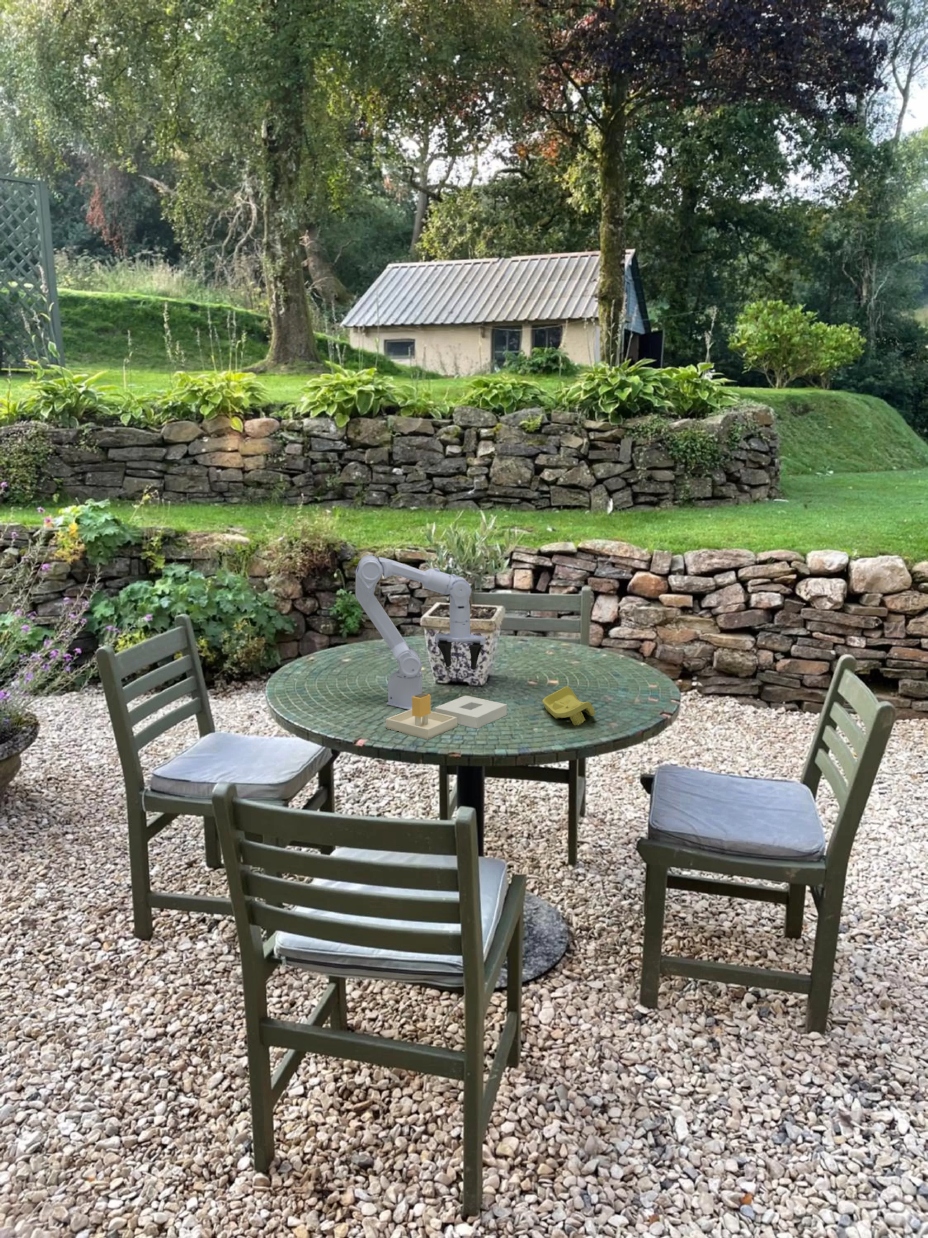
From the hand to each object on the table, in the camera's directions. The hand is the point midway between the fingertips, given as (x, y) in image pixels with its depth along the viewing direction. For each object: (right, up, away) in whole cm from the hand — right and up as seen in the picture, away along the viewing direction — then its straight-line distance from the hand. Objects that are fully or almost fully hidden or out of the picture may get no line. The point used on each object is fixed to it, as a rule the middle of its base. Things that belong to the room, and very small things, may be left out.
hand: (461, 667), depth 233 cm
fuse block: (+3, -13, -10) cm, 16 cm away
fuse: (-10, -14, -19) cm, 26 cm away
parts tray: (-10, -15, -19) cm, 26 cm away
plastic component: (+29, -13, -10) cm, 34 cm away
